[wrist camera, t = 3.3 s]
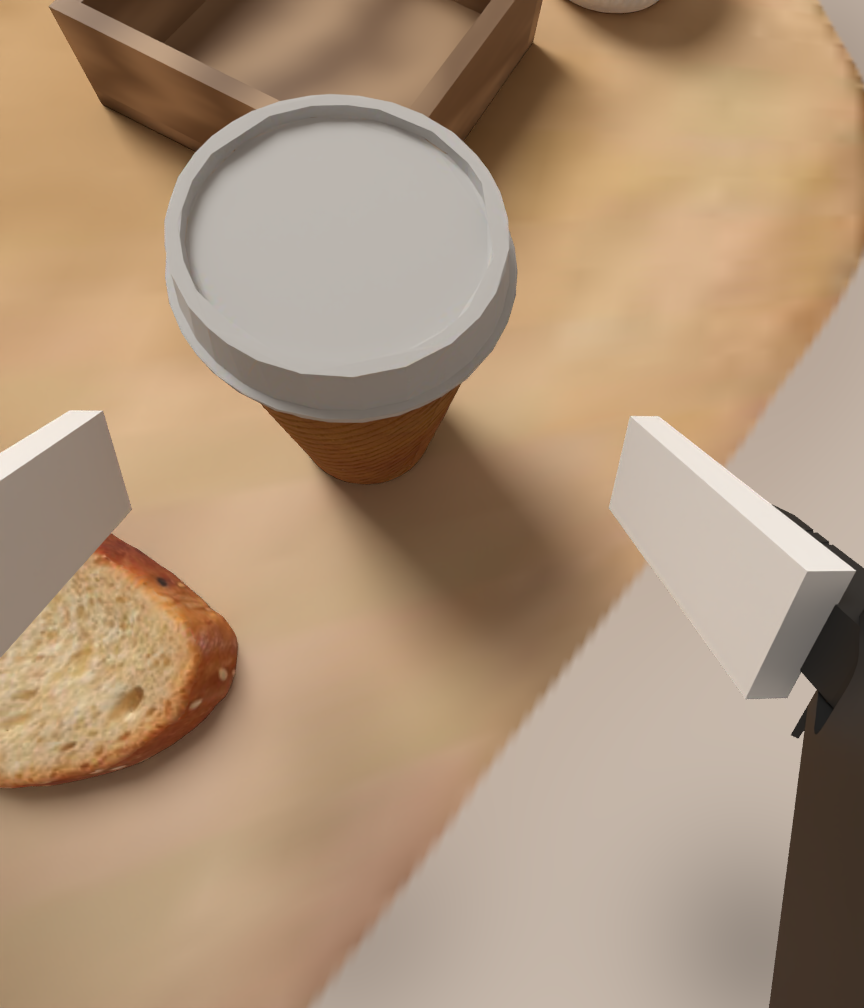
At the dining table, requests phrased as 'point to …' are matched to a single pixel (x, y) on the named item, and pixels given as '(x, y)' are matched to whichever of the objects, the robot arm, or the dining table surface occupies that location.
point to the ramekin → (615, 5)
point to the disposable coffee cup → (341, 273)
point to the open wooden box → (293, 56)
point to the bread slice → (110, 671)
